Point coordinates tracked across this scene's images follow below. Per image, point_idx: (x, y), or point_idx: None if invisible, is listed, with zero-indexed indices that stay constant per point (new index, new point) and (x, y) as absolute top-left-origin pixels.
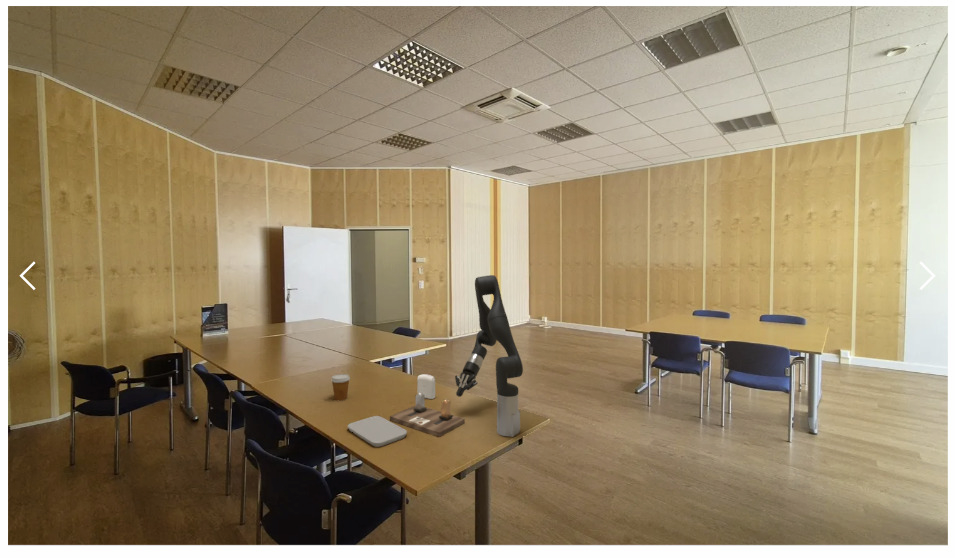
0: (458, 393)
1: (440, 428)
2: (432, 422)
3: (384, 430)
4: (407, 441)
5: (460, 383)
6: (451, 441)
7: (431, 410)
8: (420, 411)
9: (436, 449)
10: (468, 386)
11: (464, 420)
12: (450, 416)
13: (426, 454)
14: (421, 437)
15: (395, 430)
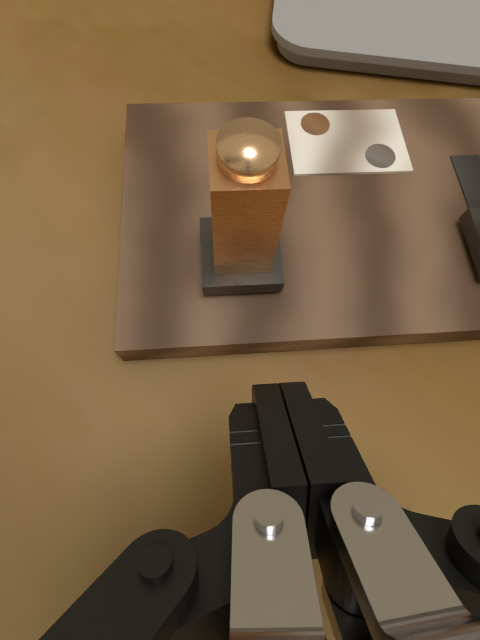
0: (270, 394)
1: (158, 139)
2: None
3: (379, 2)
4: (234, 36)
5: (433, 599)
6: (44, 130)
7: (449, 306)
8: (463, 214)
9: (63, 50)
10: (79, 613)
11: (118, 353)
12: (201, 261)
13: (75, 9)
14: (211, 85)
15: (341, 23)
